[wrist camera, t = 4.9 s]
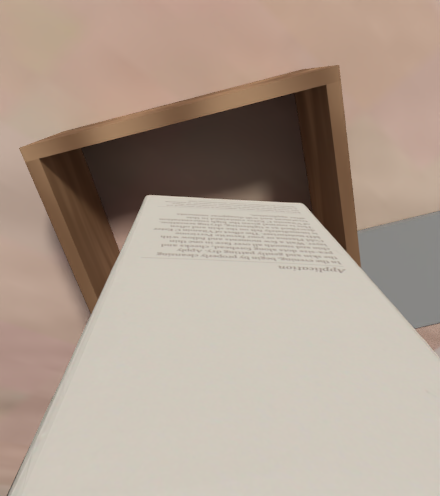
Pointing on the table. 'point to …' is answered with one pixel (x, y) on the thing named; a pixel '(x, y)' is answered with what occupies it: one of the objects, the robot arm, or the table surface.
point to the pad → (406, 265)
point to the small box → (239, 368)
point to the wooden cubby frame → (70, 142)
